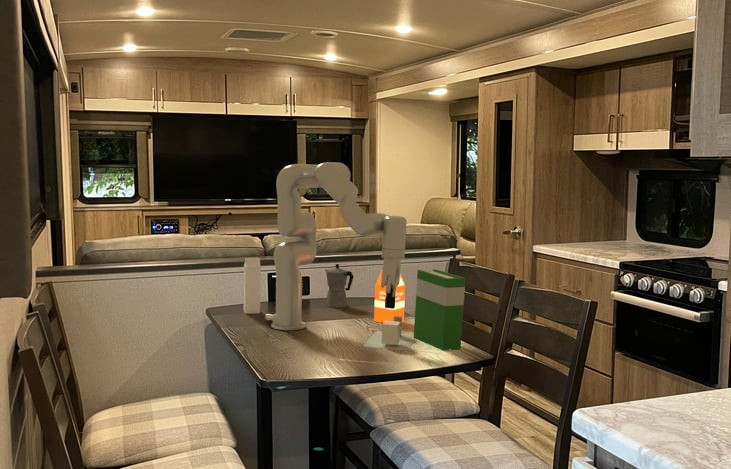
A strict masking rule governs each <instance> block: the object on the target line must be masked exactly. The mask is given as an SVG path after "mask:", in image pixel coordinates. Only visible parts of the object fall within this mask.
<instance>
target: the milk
mask: <svg viewBox="0 0 731 469" xmlns="http://www.w3.org/2000/svg"><path fill="white" fill-rule="evenodd" d="M261 268H262V266H261V258H260V257H245V258H244V264H243V312H244V314H260V313H261V278H262V277H261V272H262V270H261Z"/></svg>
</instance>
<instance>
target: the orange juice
mask: <svg viewBox="0 0 731 469" xmlns="http://www.w3.org/2000/svg"><path fill="white" fill-rule="evenodd" d="M381 278H382V270H381V271H380V273H379V276H378V278H377V281H376V283H375V286H374V316H373V317H374V322H378V323H382V324H383V323H384V321H394V316H395V315H396V316H402V322H403V323H404V322H405V321H404V319H405V303H406V302H405V301H406V300H405V298H406V297H405V294H406V292H405V291H406V284H405V281H404V279H403V277H402V274H401V273H400V282H399V285H398V286H397V287H396V295H395V296H396V300H395V308H394V309H390V308H385V296H386V286H385V287H384V288H381Z"/></svg>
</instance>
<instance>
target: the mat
mask: <svg viewBox="0 0 731 469" xmlns="http://www.w3.org/2000/svg"><path fill="white" fill-rule="evenodd" d="M415 339H416V338H414V333H403V332H402V335H401V337H400V341H399V343H398V344H397V345H395V346H394V347H393V346H386V344H382V330H381V331H380V330H379V331H378V330H376V331H375V332H374V333H373V334H372V335H371V337H369V339H368V340H367V341H366V342H365V344H364V345H363V346H362V347H363V348H373V349H375V348H376V349H387V350H396V351H397V350H398V351H409V349H410V347H411V346H412V344H413V343H414V341H415Z"/></svg>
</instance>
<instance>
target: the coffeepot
mask: <svg viewBox="0 0 731 469" xmlns="http://www.w3.org/2000/svg"><path fill="white" fill-rule="evenodd" d="M325 273H326V279H327V280H326V281H327V287H328V292H327V296H326V300H325V306H326V307H328V308H332V309H333V308H334V309H337V308H338V309H339V308H340V309H342V308H346V307H347V306H348V300H347V299H348V298H347V293H346V291H350V290H351V286H352V284H353V280H354V275H353V272H352V271H349V270H346V269H342V268H340V263H336V264H335V268H331V269H330V268H329V269H325ZM348 278H349V279H348ZM347 280H348V283H347ZM346 286H347V287H346Z"/></svg>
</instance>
